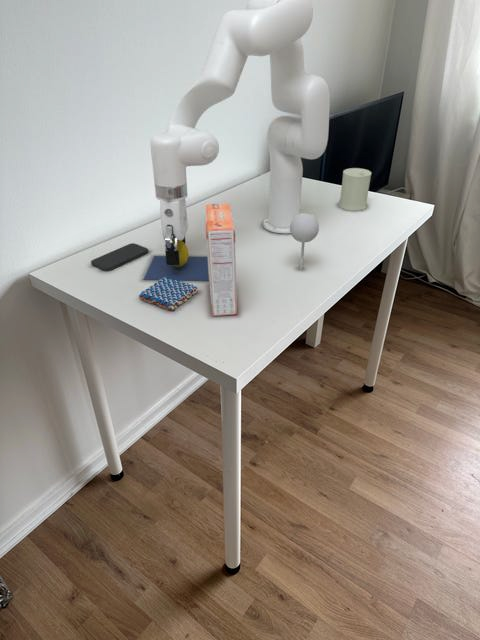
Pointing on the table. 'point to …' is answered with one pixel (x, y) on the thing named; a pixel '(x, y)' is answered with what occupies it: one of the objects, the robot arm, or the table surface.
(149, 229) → the table surface
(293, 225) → the lollipop
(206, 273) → the cloth
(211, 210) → the cracker box
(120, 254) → the phone
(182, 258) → the lemon
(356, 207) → the can
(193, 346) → the table surface
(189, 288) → the woven mat
